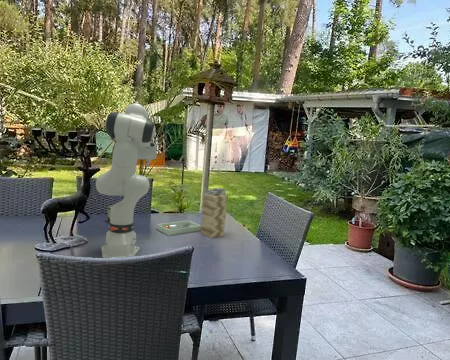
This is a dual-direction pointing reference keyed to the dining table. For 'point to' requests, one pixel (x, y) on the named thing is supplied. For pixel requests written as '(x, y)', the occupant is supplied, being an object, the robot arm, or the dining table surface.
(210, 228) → the pin post
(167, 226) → the stop pin
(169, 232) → the pin tray
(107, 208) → the food container
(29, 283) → the dining table surface
